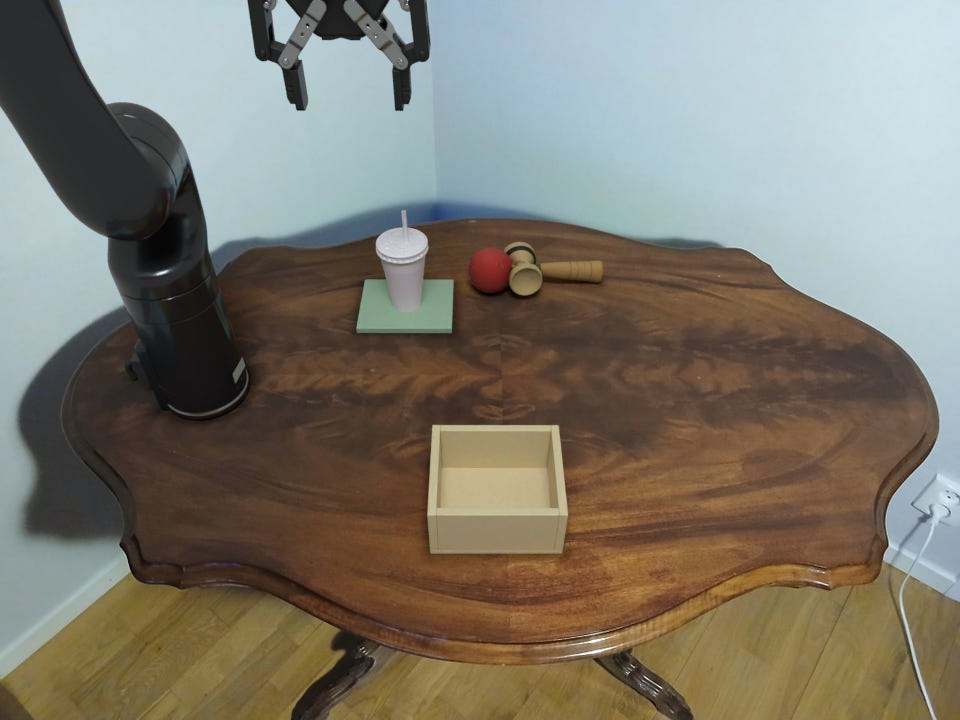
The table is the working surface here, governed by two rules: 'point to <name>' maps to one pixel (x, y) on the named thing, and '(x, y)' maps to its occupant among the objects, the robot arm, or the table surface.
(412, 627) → the table surface
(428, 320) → the mat
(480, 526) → the bin
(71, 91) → the robot arm
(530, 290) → the kendama
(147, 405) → the table surface
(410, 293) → the smoothie
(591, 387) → the table surface
